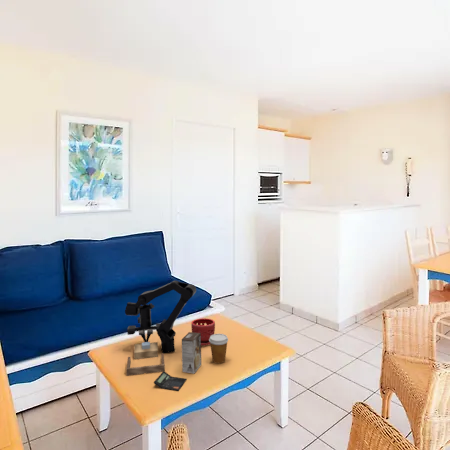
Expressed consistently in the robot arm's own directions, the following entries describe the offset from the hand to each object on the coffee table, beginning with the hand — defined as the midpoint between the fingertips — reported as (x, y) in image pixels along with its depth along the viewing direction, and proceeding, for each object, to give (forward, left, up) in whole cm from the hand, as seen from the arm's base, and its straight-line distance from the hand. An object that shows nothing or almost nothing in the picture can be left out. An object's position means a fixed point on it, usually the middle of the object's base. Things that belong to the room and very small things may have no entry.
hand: (146, 344), depth 190 cm
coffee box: (-21, +27, -3) cm, 34 cm away
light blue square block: (0, +6, +1) cm, 6 cm away
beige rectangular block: (0, +6, -3) cm, 7 cm away
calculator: (-11, +38, -3) cm, 39 cm away
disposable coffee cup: (-35, +22, -3) cm, 42 cm away
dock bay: (0, +20, -2) cm, 20 cm away
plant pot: (-31, -1, -3) cm, 31 cm away
